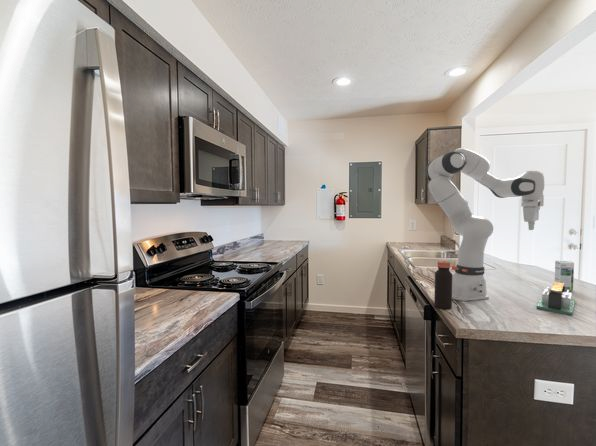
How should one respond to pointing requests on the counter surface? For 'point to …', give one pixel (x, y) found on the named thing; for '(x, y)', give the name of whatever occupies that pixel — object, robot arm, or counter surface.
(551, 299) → the heatsink mount
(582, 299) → the counter surface
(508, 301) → the counter surface
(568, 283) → the syrup box
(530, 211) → the robot arm
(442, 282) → the bottle
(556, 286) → the strap
